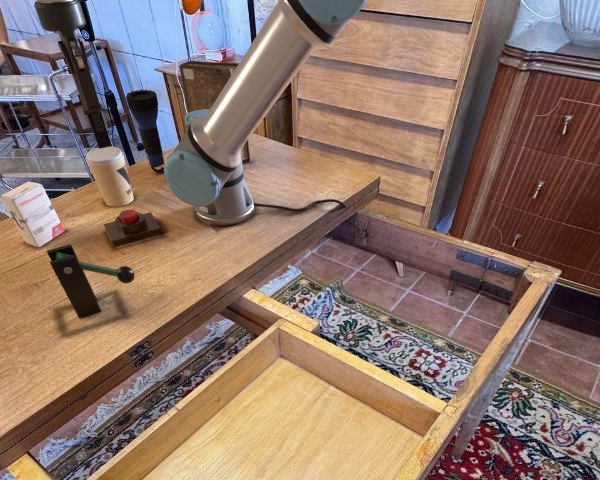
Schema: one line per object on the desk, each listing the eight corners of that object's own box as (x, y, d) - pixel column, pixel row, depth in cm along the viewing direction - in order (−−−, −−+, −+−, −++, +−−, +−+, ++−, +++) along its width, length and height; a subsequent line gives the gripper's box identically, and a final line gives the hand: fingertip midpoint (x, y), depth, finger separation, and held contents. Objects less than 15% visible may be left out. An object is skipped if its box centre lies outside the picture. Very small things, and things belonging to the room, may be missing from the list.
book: (194, 161, 136) (175, 63, 117) (206, 153, 140) (190, 56, 121) (240, 171, 131) (228, 69, 112) (252, 161, 135) (242, 62, 116)
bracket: (114, 292, 95) (89, 233, 84) (124, 316, 90) (99, 256, 79) (56, 310, 91) (23, 250, 81) (64, 336, 86) (29, 276, 76)
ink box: (51, 226, 113) (28, 179, 104) (65, 231, 112) (43, 183, 102) (24, 243, 108) (-3, 195, 99) (38, 248, 107) (12, 200, 98)
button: (136, 214, 109) (133, 208, 107) (140, 222, 107) (138, 215, 105) (119, 219, 108) (117, 212, 106) (123, 226, 105) (121, 219, 104)
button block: (153, 220, 114) (148, 204, 111) (163, 236, 109) (158, 220, 106) (106, 232, 111) (100, 217, 108) (114, 249, 106) (108, 234, 103)
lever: (129, 279, 91) (134, 264, 90) (134, 288, 90) (138, 273, 88) (53, 264, 82) (57, 247, 81) (56, 273, 80) (60, 256, 79)
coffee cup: (137, 205, 119) (123, 158, 110) (102, 210, 118) (84, 163, 109) (136, 189, 125) (121, 143, 116) (102, 194, 124) (85, 148, 114)
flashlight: (179, 172, 132) (161, 93, 116) (156, 180, 128) (135, 101, 113) (164, 164, 136) (145, 87, 120) (142, 172, 132) (119, 94, 117)
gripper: (27, -5, 79) (81, 139, 97) (37, 7, 71) (93, 161, 89) (71, -10, 81) (115, 132, 99) (84, 2, 73) (130, 153, 92)
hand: (105, 146), depth 94 cm, fingers closed
